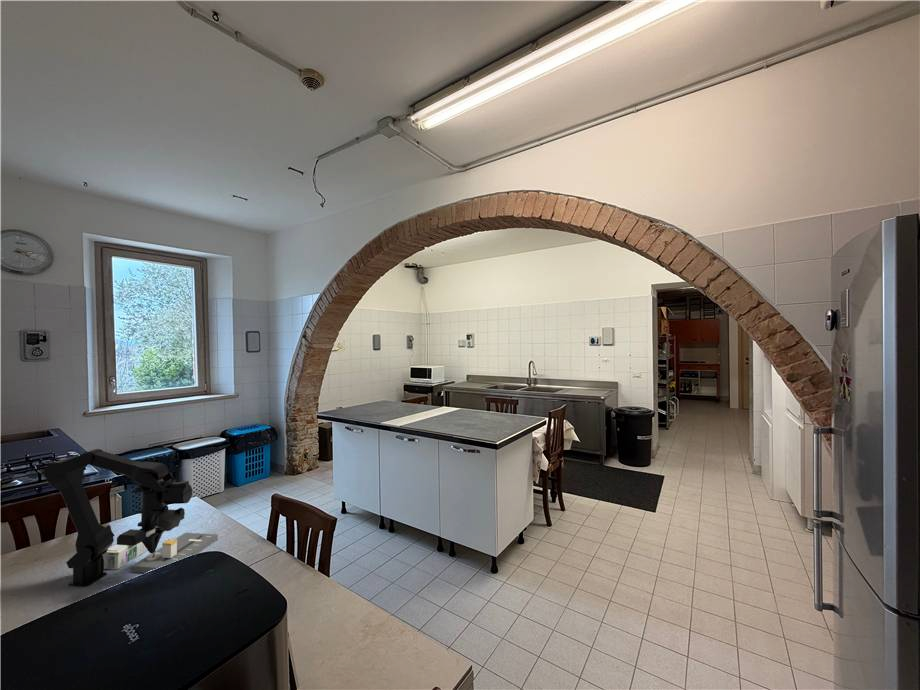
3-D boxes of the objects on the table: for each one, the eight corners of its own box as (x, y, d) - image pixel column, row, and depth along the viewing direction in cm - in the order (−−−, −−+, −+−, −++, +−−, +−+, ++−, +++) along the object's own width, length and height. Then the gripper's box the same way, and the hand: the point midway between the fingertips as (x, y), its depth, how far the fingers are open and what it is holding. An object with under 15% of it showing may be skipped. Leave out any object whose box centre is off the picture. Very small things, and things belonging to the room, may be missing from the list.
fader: (170, 558, 126) (171, 543, 126) (162, 557, 127) (162, 543, 127) (177, 553, 129) (177, 539, 129) (168, 553, 129) (168, 539, 129)
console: (168, 574, 121) (168, 565, 121) (131, 572, 122) (131, 563, 122) (217, 539, 143) (217, 531, 143) (185, 537, 144) (185, 530, 144)
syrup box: (154, 546, 138) (118, 569, 124) (139, 545, 138) (100, 569, 124) (155, 530, 138) (118, 552, 124) (139, 530, 138) (101, 552, 124)
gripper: (149, 519, 111) (149, 571, 111) (198, 494, 130) (198, 539, 130) (115, 517, 112) (114, 569, 112) (168, 492, 131) (168, 537, 131)
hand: (152, 552), depth 121 cm, fingers closed
